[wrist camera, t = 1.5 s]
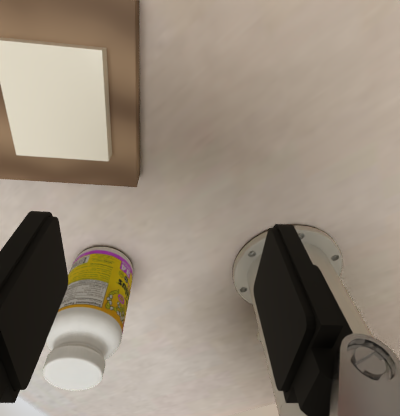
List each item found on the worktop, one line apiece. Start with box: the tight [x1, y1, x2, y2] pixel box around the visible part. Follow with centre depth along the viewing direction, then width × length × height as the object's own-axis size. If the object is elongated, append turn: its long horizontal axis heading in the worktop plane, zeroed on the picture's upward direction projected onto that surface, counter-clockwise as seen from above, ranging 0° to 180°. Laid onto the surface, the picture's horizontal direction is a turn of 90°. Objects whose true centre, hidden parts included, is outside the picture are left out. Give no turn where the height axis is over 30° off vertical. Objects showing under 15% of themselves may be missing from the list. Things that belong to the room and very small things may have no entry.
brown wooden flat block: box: [0, 0, 140, 187], centre depth 25 cm, size 14×16×2 cm
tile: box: [0, 37, 112, 161], centre depth 24 cm, size 8×7×2 cm
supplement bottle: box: [43, 247, 133, 391], centre depth 31 cm, size 7×7×13 cm
